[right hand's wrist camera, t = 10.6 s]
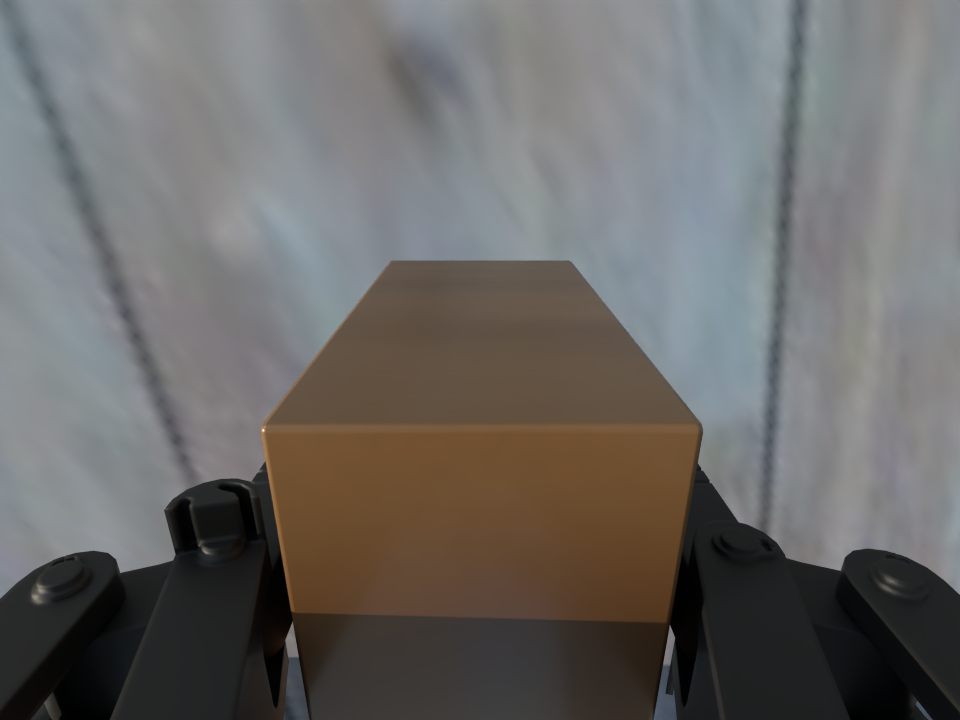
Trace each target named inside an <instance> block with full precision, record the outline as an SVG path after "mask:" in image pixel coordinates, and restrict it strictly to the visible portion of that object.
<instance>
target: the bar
mask: <svg viewBox="0 0 960 720" xmlns="http://www.w3.org/2000/svg"><path fill="white" fill-rule="evenodd" d="M702 435H703V428H702V424H701V423H700V422H699V420H698V419H697V418H696V417H695V415H694V414H693V413H692V412H691V410H690V409H689V408H688V407H687V405H686V404H685V403H684V402H683V400H682V399H681V398H680V397H679V395H678V394H677V393H676V392H675V390H674V389H673V388H672V387H671V385H670V384H669V383H668V382H667V380H666V379H665V378H664V377H663V375H662V374H661V373H660V372H659V370H658V369H657V368H656V367H655V366H654V364H653V363H652V362H651V361H650V359H649V358H648V357H647V356H646V354H645V353H644V352H643V351H642V349H641V348H640V347H639V346H638V344H637V343H636V342H635V341H634V339H633V338H632V337H631V336H630V334H629V333H628V332H627V331H626V329H625V328H624V327H623V326H622V324H621V323H620V322H619V321H618V319H617V318H616V317H615V316H614V314H613V313H612V312H611V311H610V309H609V308H608V307H607V306H606V304H605V303H604V302H603V301H602V299H601V298H600V297H599V296H598V294H597V293H596V292H595V291H594V289H593V288H592V287H591V286H590V284H589V283H588V282H587V281H586V279H585V278H584V277H583V276H582V275H581V273H580V272H579V271H578V270H577V268H576V267H575V266H574V265H573V263H572V262H571V261H391V262H389V264H388V265H387V266H386V267H385V269H384V270H383V271H382V273H381V274H380V275H379V276H378V278H377V279H376V280H375V281H374V283H373V284H372V285H371V287H370V288H369V289H368V290H367V292H366V293H365V294H364V295H363V297H362V298H361V299H360V301H359V302H358V303H357V304H356V306H355V307H354V308H353V309H352V311H351V312H350V313H349V315H348V316H347V317H346V318H345V320H344V321H343V322H342V323H341V325H340V326H339V327H338V329H337V330H336V331H335V332H334V334H333V335H332V336H331V337H330V339H329V340H328V341H327V343H326V344H325V345H324V346H323V348H322V349H321V350H320V351H319V353H318V354H317V355H316V357H315V358H314V359H313V360H312V362H311V363H310V364H309V365H308V367H307V368H306V369H305V371H304V372H303V373H302V374H301V376H300V377H299V378H298V379H297V381H296V382H295V383H294V385H293V386H292V387H291V388H290V390H289V391H288V392H287V393H286V395H285V396H284V397H283V399H282V400H281V401H280V402H279V404H278V405H277V406H276V407H275V409H274V410H273V411H272V412H271V414H270V415H269V416H268V418H267V419H266V420H265V421H264V423H263V424H262V427H261V436H262V442H263V448H264V454H265V460H266V466H267V472H268V478H269V484H270V489H271V495H272V501H273V507H274V513H275V519H276V525H277V531H278V537H279V542H280V548H281V554H282V560H283V566H284V572H285V578H286V584H287V590H288V595H289V601H290V607H291V613H292V619H293V625H294V631H295V637H296V643H297V648H298V654H299V660H300V666H301V672H302V678H303V684H304V690H305V696H306V701H307V707H308V713H309V719H310V720H653V719H654V713H655V708H656V702H657V696H658V690H659V684H660V679H661V673H662V667H663V661H664V655H665V650H666V644H667V638H668V632H669V626H670V621H671V615H672V609H673V603H674V597H675V592H676V586H677V580H678V574H679V568H680V562H681V557H682V551H683V545H684V539H685V533H686V528H687V522H688V516H689V510H690V504H691V499H692V493H693V487H694V481H695V475H696V470H697V464H698V458H699V452H700V446H701V441H702Z"/></svg>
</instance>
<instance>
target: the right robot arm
mask: <svg viewBox="0 0 960 720" xmlns="http://www.w3.org/2000/svg"><path fill="white" fill-rule="evenodd" d="M164 511H165V515H166V519H167V523H168V527H169V530H170V534H171V538H172V542H173V546H174V550H175V553H176V555H175V558H174V560H173V561H170V562H167V563H163V564H160V565H155V566H151V567H146V568H142V569H137V570H132V571H128V572H123V573H120V571H119V567H118V564H117V561H116V559H115V558H113V557H112V556H111V555H110V554H109V553H104V552H98V551H88V552H80V553H74V554H71V555H67V556H65V557H61V558H58V559H55V560H53V561H51V562H49V563H47V564H45V565H43V566H41V567H39V568H37V569H35V570H34V571H32V572H31V573H30V574H28V575H27V576H26V577H24V578H23V579H22V580H20V581H19V582H18V583H17V584H15V585H14V586H13V587H12V588H11V589H10V590H9V591H8V592H7V593H6V594H5V595H4V596H3V597H2V598H1V599H0V720H31V719H32V717H33V716H34V715H35V714H36V712H37V711H38V710H39V709H40V707H41V706H42V705H43V703H44V704H45V706H46V707H45V708H44V709H43V711H42V712H41V713H40V715H39V716H38V717H37V718H36V719H35V720H283V715H284V704H285V694H286V683H287V673H288V662H289V661H288V654H287V648H286V642H285V639H286V637H287V634H288V632H289V629H290V627H291V624H292V622H293V619H292V613H291V607H290V601H289V595H288V590H287V584H286V578H285V572H284V566H283V560H282V554H281V548H280V542H279V537H278V531H277V525H276V519H275V513H274V507H273V501H272V495H271V489H270V484H269V478H268V472H267V466H266V461H265V463H264V464H263V466H262V467H261V469H260V472H259V473H257V474H256V476H255V477H254V479H253V480H252V482H249V481H245V480H241V479H219V480H215V481H210V482H206V483H202V484H200V485H197V486H195V487H193V488H190V489H188V490H186V491H184V492H183V493H181V494H180V495H178V496H177V497H175V498H174V499H173V500H172V501H171V502H170V503H169V505H168V506H167V507H166V508H165V510H164ZM670 626H671V628H672V631H673V633H674V636H675V642H674V648H673V653H672V659H671V665H670V670H669V676H668V681H667V688H666V694H670V695H673V690H674V692H675V703H676V713H677V720H928V719H927V718H926V717H925V716H924V715H923V714H922V712H921V711H920V710H919V708H918V707H917V706H916V702H917V700H918V702H919V703H920V704H921V705H922V707H923V708H924V709H925V710H926V712H927V713H928V714H929V716H930V717H931V718H932V719H933V720H960V595H959V594H958V593H957V592H956V591H955V590H954V589H953V588H952V587H951V586H950V585H948V584H947V583H946V582H945V581H944V580H943V579H941V578H940V577H939V576H937V575H936V574H935V573H933V572H932V571H931V570H929V569H928V568H927V567H925V566H923V565H921V564H919V563H917V562H915V561H913V560H911V559H909V558H907V557H904V556H901V555H899V554H898V555H897V554H895V553H891V552H888V551H883V550H875V549H862V550H855V551H852V552H851V553H850V554H849V555H847V556H846V557H845V559H844V563H843V566H842V569H841V571H838V570H834V569H829V568H824V567H820V566H815V565H811V564H806V563H801V562H798V561H794V560H791V559H787V558H786V557H785V554H784V553H783V551H782V550H781V548H780V547H779V545H778V544H777V543H776V542H775V541H774V540H773V539H771V538H770V537H769V536H768V535H766V534H765V533H764V532H762V531H760V530H757V529H755V528H753V527H751V526H749V525H747V524H743V523H739V522H738V521H737V520H736V518H735V517H734V515H733V514H732V512H731V511H730V509H729V508H728V506H727V505H726V504H725V502H724V501H723V499H722V498H721V496H720V495H719V493H718V492H717V491H716V489H715V488H714V486H713V485H712V483H710V482H709V479H708V477H707V476H706V475H705V473H704V472H703V471H701V467H700V466H699V464H697V470H696V475H695V481H694V487H693V493H692V499H691V504H690V510H689V516H688V522H687V528H686V533H685V539H684V545H683V551H682V557H681V562H680V568H679V574H678V580H677V586H676V592H675V597H674V603H673V609H672V615H671V621H670Z"/></svg>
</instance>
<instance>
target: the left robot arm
mask: <svg viewBox="0 0 960 720" xmlns="http://www.w3.org/2000/svg"><path fill="white" fill-rule="evenodd" d="M45 707H46V706H45V704H44V703H43V705H42V706H41V707H40V709H39V710H38V711H37V712H36V714H35V715H34V716H33V717H32V719H31V720H35V719H36V718H37V717H38V716H39V715H40V713H41V712H42V711H43V709H44V708H45Z"/></svg>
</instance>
